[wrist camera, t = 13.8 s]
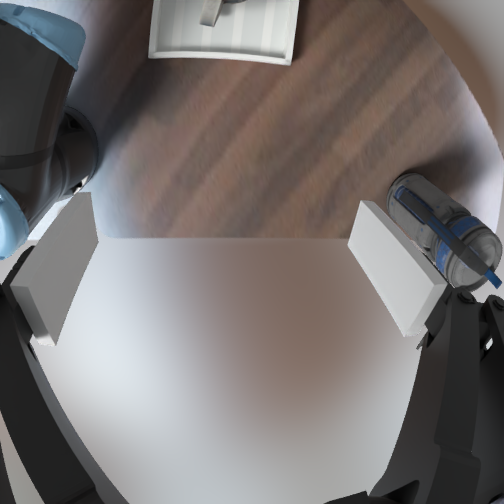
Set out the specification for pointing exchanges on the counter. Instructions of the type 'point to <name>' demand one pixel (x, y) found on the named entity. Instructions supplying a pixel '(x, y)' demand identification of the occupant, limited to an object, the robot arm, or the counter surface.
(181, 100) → the counter surface
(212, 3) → the mug
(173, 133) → the counter surface
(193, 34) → the white tray
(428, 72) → the counter surface
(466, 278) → the grey blue grenade canister
